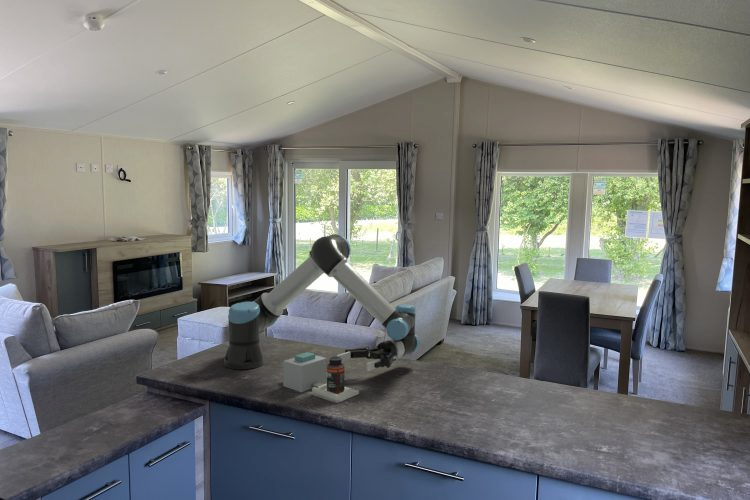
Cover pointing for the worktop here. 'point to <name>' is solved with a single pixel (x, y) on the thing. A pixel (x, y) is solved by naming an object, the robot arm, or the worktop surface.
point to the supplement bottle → (335, 375)
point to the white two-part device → (311, 377)
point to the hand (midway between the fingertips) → (351, 363)
